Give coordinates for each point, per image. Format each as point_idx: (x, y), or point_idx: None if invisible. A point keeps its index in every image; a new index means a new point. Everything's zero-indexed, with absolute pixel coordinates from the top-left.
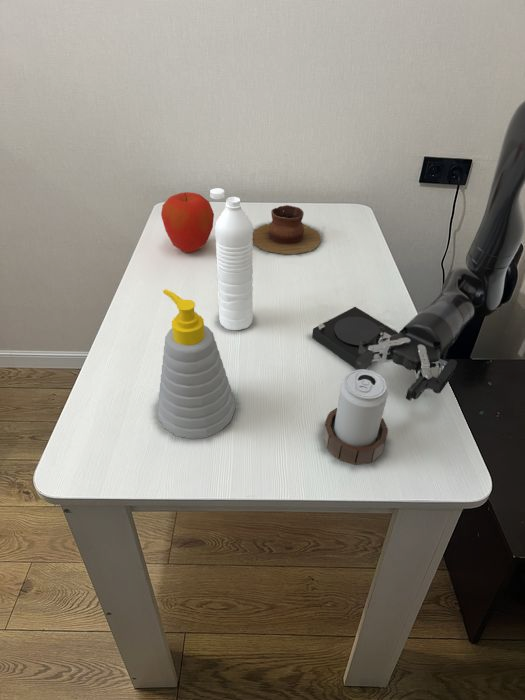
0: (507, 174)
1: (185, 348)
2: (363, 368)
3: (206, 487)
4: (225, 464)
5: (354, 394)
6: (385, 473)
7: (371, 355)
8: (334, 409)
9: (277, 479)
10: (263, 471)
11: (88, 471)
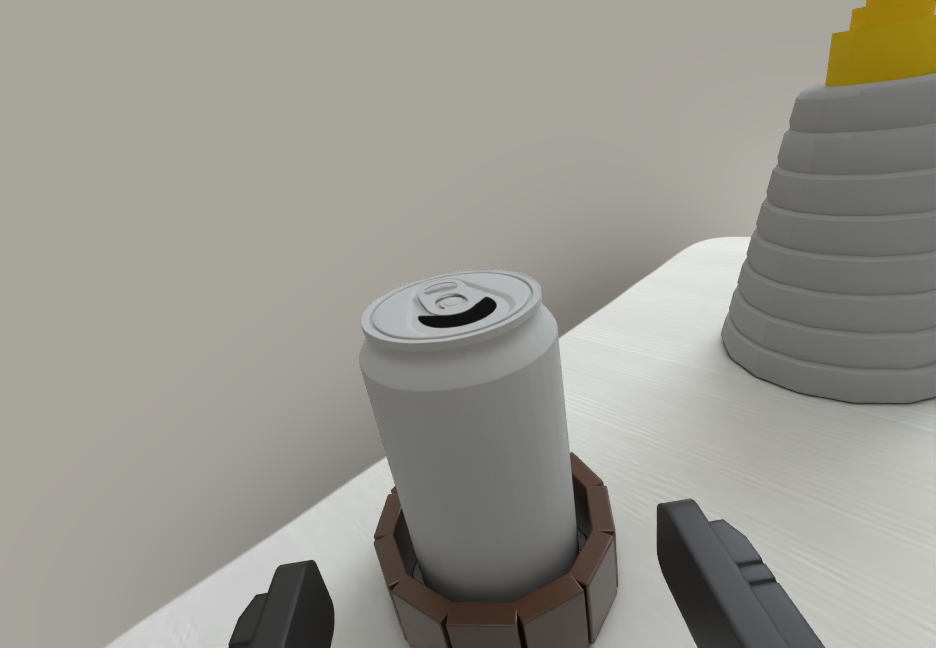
0: None
1: (812, 86)
2: (678, 586)
3: (602, 320)
4: (632, 343)
5: (448, 273)
6: (350, 548)
7: (731, 633)
8: (608, 505)
9: None
10: (574, 374)
11: (720, 256)
